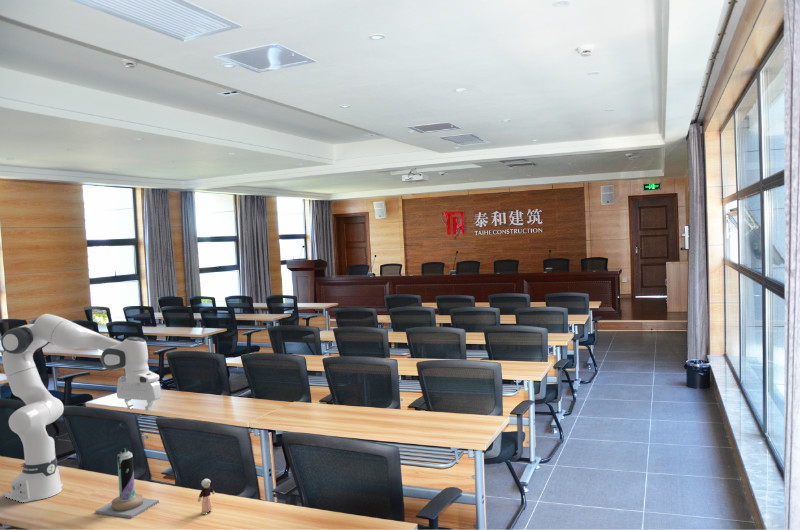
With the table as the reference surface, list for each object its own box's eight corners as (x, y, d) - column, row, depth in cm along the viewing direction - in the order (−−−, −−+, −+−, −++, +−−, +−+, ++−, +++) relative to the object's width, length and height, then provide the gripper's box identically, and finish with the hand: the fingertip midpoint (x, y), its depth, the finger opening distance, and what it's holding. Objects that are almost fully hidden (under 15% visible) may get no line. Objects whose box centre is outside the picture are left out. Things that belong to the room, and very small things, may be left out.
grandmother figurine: (205, 516, 223) (203, 482, 223) (197, 515, 225) (195, 482, 224) (218, 507, 231) (216, 475, 230) (210, 506, 232) (208, 474, 231)
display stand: (95, 513, 231) (94, 504, 231) (123, 498, 244) (123, 489, 244) (132, 518, 225) (131, 509, 225) (159, 502, 238) (158, 494, 238)
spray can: (128, 502, 231) (125, 450, 231) (116, 501, 233) (113, 450, 232) (138, 496, 237) (135, 446, 236) (126, 495, 238) (123, 445, 237)
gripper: (111, 377, 247) (113, 410, 248) (151, 379, 240) (153, 413, 241) (123, 374, 253) (125, 406, 254) (162, 375, 246) (164, 409, 247)
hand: (139, 409), depth 247 cm, fingers open, 8 cm apart
